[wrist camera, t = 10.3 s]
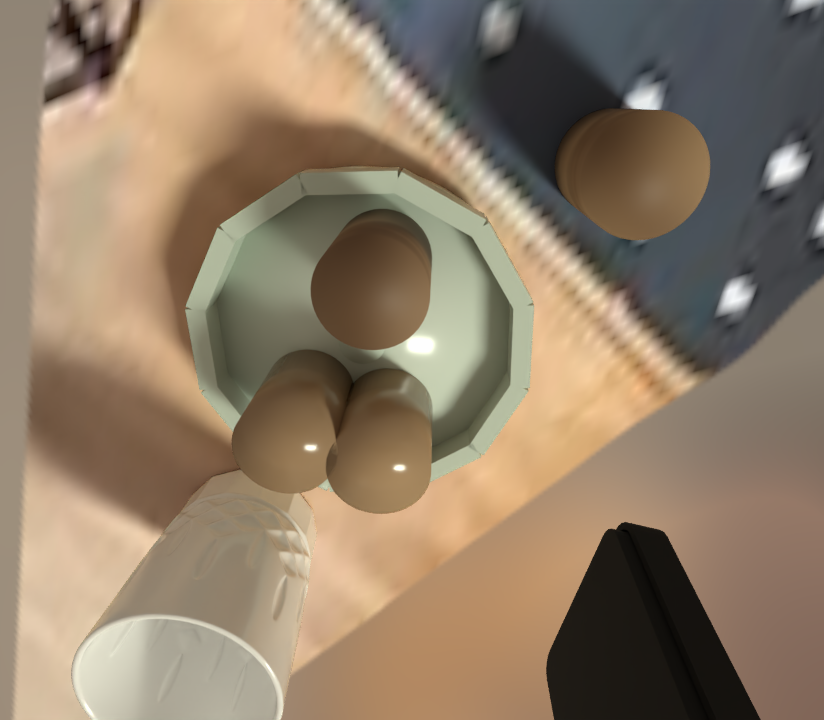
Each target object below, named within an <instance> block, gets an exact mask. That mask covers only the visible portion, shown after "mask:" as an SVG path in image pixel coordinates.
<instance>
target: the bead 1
mask: <svg viewBox="0 0 824 720" xmlns="http://www.w3.org/2000/svg"><path fill="white" fill-rule="evenodd" d="M431 270H432V251H431V246H430V243H429V240H428V238H427V236H426V234H425V232H424V231H423V229H422V228H421V227H420V226H419V225H418V224H417V223H416V222H415V221H414V220H413V219H412V218H410V217H409V216H407V215H405V214H403V213H401V212H398V211H395V210H390V209H373V210H369V211H366V212H363V213H361V214H359V215H357V216H356V217H354V218H353V219H351V220H350V221H349V222H348V223H347V224H346V225H345V227H344V228H343V229H342V231H341V232H340V233H339V235H338V236H337V237H336V239H335V240H334V241H333V243H332V244H331V245H330V247H329V248H328V249H327V251H326V252H325V253H324V255H323V256H322V257H321V259H320V260H319V262H318V263H317V265H316V267H315V270H314V272H313V276H312V280H311V288H310V289H311V300H312V305H313V308H314V311H315V313H316V315H317V318H318V319H319V321H320V322H321V324H322V325H323V326H324V328H325V329H326V330H327V331H328V332H329V333H330V334H331V335H332V336H334V337H335V338H336V339H338V340H339V341H341V342H343V343H344V344H347V345H349V346H351V347H355V348H358V349H364V350H382V349H387V348H391V347H394V346H396V345H398V344H400V343H402V342H404V341H405V340H407V339H408V338H410V337H411V336H412V335H413V334H414V333H415V332H416V331H417V330H418V329H419V327H420V326H421V324H422V323H423V321H424V319H425V317H426V315H427V312H428V309H429V303H430V289H431Z"/></svg>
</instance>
